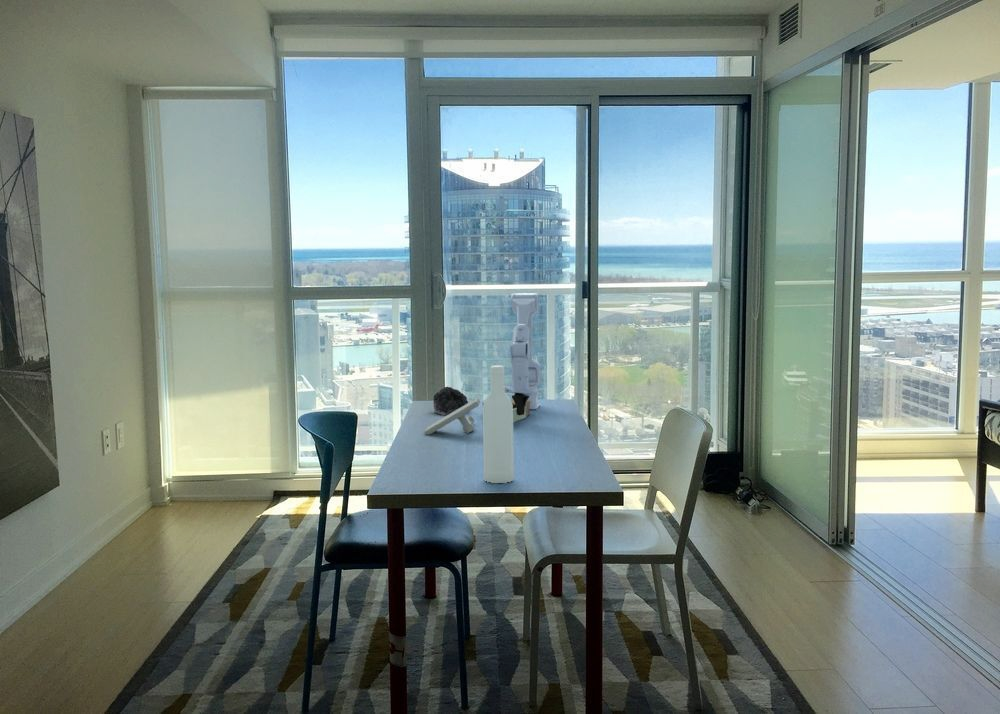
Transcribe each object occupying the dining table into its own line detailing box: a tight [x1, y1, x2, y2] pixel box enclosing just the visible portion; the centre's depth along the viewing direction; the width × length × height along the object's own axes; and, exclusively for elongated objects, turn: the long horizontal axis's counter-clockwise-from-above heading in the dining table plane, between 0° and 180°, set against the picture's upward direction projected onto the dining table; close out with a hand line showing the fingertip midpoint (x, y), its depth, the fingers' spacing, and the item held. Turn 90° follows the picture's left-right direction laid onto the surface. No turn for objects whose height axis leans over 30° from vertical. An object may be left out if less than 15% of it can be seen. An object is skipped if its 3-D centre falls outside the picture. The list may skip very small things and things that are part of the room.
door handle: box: [424, 397, 481, 435], centre depth 275 cm, size 18×8×20 cm
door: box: [513, 406, 528, 423], centre depth 284 cm, size 2×16×4 cm, turn 146°
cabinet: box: [482, 399, 531, 417], centre depth 296 cm, size 7×16×5 cm, turn 78°
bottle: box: [482, 365, 515, 484], centre depth 212 cm, size 8×8×30 cm
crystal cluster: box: [433, 386, 469, 416], centre depth 305 cm, size 13×14×10 cm
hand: (520, 414), depth 286 cm, fingers closed
